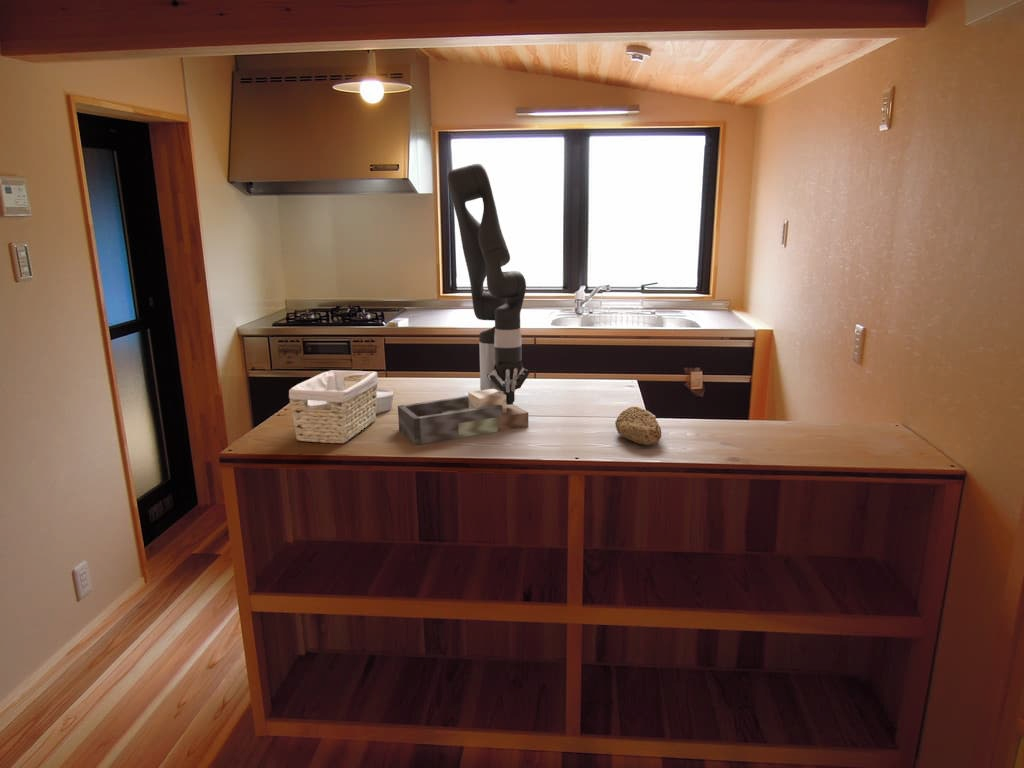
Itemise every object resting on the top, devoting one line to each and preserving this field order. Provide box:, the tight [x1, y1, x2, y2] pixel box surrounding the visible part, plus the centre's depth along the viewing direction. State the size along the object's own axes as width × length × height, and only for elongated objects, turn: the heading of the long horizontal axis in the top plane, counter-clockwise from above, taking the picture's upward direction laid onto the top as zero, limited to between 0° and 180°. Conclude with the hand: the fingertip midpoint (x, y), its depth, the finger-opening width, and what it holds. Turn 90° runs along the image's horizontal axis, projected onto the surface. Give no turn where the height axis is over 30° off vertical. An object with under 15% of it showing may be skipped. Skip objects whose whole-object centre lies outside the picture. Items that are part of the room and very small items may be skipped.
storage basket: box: [288, 369, 379, 444], centre depth 188 cm, size 24×16×15 cm
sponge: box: [614, 406, 662, 446], centre depth 181 cm, size 13×8×20 cm
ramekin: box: [376, 388, 395, 414], centre depth 209 cm, size 11×11×5 cm
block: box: [467, 389, 506, 413], centre depth 193 cm, size 8×8×5 cm
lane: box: [397, 395, 529, 446], centre depth 190 cm, size 33×14×7 cm, turn 117°
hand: (509, 403), depth 196 cm, fingers closed
